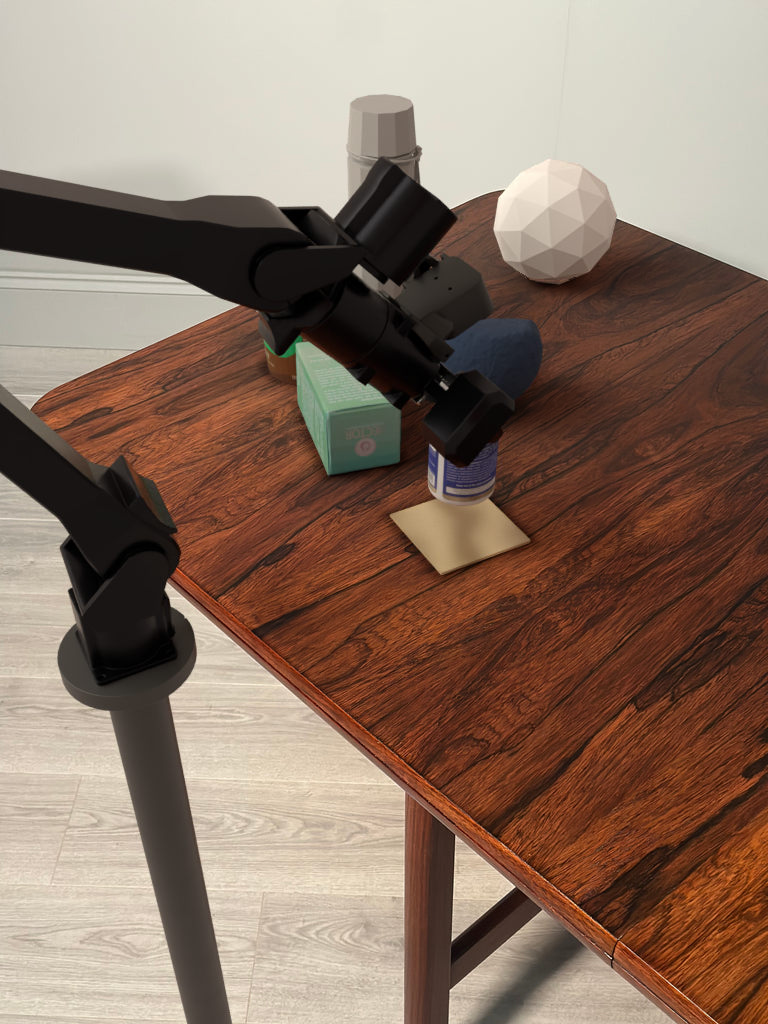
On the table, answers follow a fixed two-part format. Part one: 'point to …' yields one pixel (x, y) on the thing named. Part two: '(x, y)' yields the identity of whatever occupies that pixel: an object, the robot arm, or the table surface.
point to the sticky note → (458, 532)
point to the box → (345, 415)
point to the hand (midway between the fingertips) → (479, 419)
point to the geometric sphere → (554, 221)
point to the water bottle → (381, 150)
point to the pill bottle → (463, 476)
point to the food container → (283, 363)
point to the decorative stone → (500, 353)
